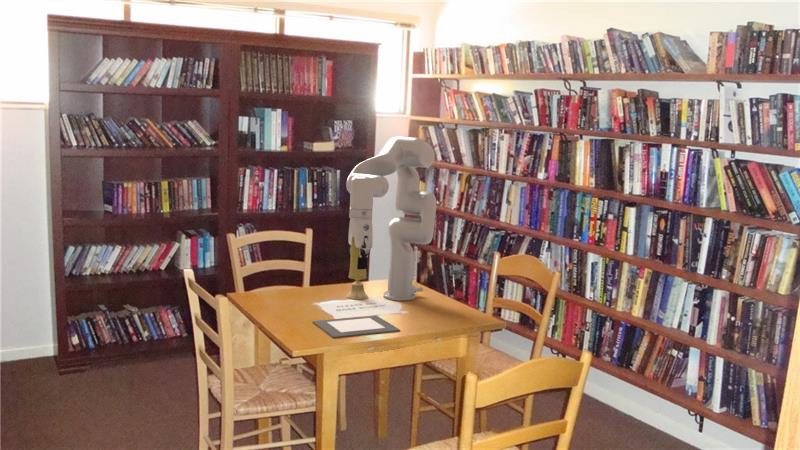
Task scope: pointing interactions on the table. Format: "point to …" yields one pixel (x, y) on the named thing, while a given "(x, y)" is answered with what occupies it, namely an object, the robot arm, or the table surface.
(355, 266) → the vase
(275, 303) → the table surface
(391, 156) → the robot arm
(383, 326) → the grey picture frame
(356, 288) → the hand bell
